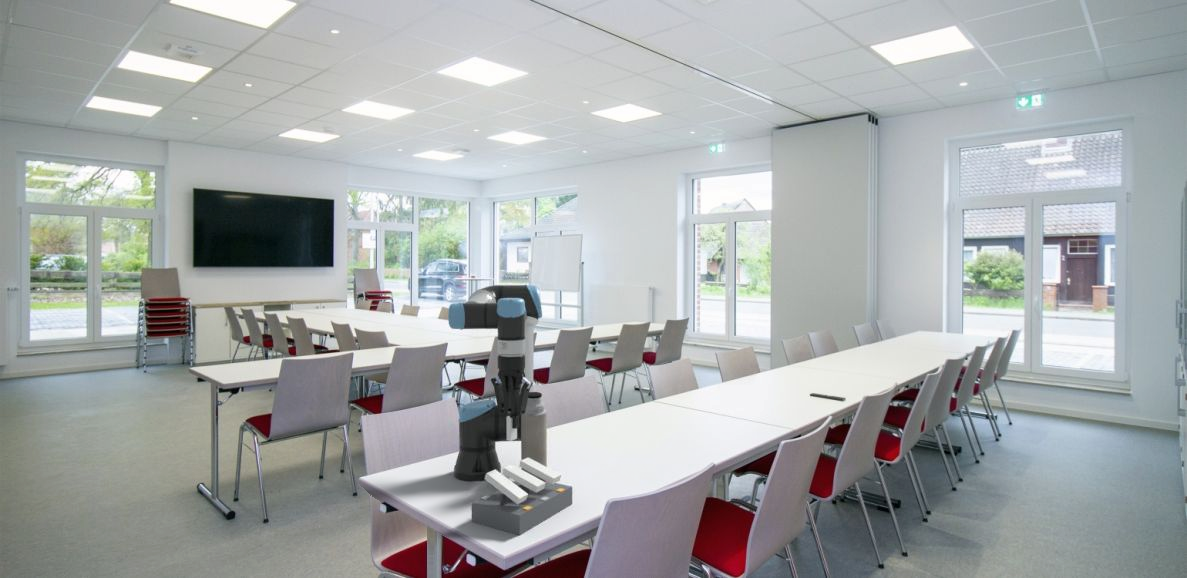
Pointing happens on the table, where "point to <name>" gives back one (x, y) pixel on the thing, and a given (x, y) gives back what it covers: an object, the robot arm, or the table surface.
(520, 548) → the table surface
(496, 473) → the rocker
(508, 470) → the rocker
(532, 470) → the rocker
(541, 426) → the thermos bottle
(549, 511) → the console
